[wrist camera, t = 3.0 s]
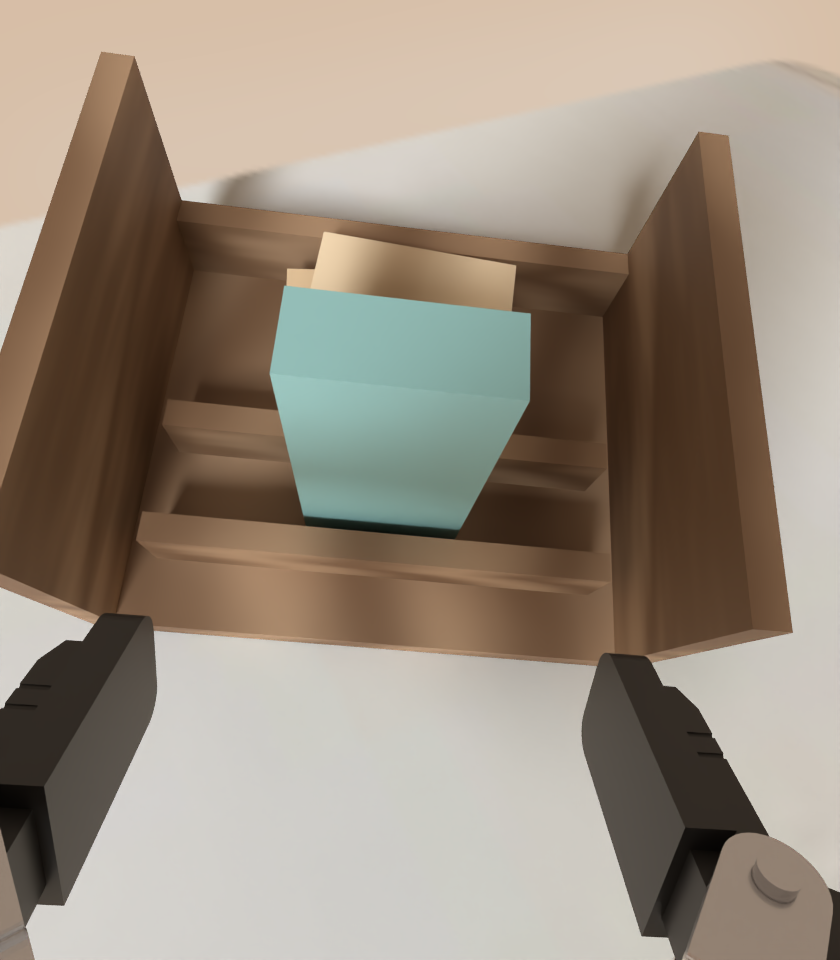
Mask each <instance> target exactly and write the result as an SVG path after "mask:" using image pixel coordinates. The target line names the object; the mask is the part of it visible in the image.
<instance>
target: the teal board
mask: <svg viewBox="0 0 840 960" xmlns="http://www.w3.org/2000/svg"><path fill="white" fill-rule="evenodd" d="M530 332H531V314H530V313H521V312H512V311H504V310H495V309H486V308H477V307H468V306H460V305H451V304H442V303H433V302H424V301H416V300H407V299H398V298H389V297H380V296H372V295H363V294H354V293H345V292H336V291H328V290H319V289H310V288H301V287H292V286H284V291H283V297H282V302H281V308H280V314H279V320H278V326H277V332H276V338H275V344H274V350H273V356H272V362H271V368H270V377H271V382H272V386H273V390H274V394H275V398H276V403H277V407H278V411H279V415H280V419H281V424H282V428H283V432H284V436H285V440H286V445H287V449H288V453H289V457H290V461H291V466H292V470H293V474H294V478H295V482H296V487H297V491H298V495H299V499H300V503H301V508H302V512H303V516H304V520H305V524H306V526H310V527H321V528H332V529H343V530H354V531H365V532H376V533H387V534H398V535H409V536H420V537H431V538H442V539H453V540H455V538H456V536H457V534H458V532H459V531H460V529H461V527H462V525H463V523H464V521H465V520H466V518H467V516H468V514H469V512H470V510H471V508H472V507H473V505H474V503H475V501H476V499H477V497H478V496H479V494H480V492H481V490H482V488H483V486H484V484H485V483H486V481H487V479H488V477H489V475H490V473H491V472H492V470H493V468H494V466H495V464H496V462H497V460H498V459H499V457H500V455H501V453H502V451H503V449H504V448H505V446H506V444H507V442H508V440H509V438H510V436H511V435H512V433H513V431H514V429H515V427H516V425H517V424H518V422H519V420H520V418H521V416H522V414H523V413H524V411H525V409H526V407H527V405H528V403H529V401H530Z"/></svg>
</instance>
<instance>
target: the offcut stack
mask: <svg viewBox="0 0 840 960" xmlns="http://www.w3.org/2000/svg"><path fill="white" fill-rule="evenodd" d="M515 274H516V265H511V264H505V263H499V262H494V261H488V260H482V259H477V258H471V257H465V256H460V255H454V254H449V253H443V252H437V251H432V250H426V249H420V248H415V247H409V246H403V245H398V244H392V243H386V242H381V241H375V240H369V239H364V238H358V237H352V236H347V235H341V234H335V233H330V232H324V233H323V238H322V242H321V246H320V250H319V254H318V259H317V263H316V267H315V269H287V286H292V287H301V288H310V289H319V290H328V291H336V292H345V293H354V294H363V295H372V296H380V297H389V298H398V299H407V300H416V301H424V302H433V303H442V304H451V305H460V306H468V307H477V308H486V309H495V310H504V311H512V302H513V293H514V283H515Z"/></svg>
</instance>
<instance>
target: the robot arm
mask: <svg viewBox="0 0 840 960" xmlns="http://www.w3.org/2000/svg"><path fill="white" fill-rule="evenodd" d="M156 694H157V676H156V661H155V645H154V630H153V622H152V619H151V617H149V616H142V615H129V614H116V613H104V614H102V615H101V616H100V617H99V618H98V620H97V621H96V623H95V624H94V626H93V627H92V628H91V630H90V631H89V633H88V634H87V636H86V637H85V639H84V640H83V641H71V640H66V641H64V642H63V643H61V644H60V645H59V646H57V647H56V648H54V649H53V650H51V651H50V652H48V653H47V654H45V655H44V656H43V657H41V658H40V659H38V660H37V662H36V663H35V664H34V666H33V667H32V668H31V670H30V671H29V672H28V674H27V675H26V676H25V678H24V679H23V680H22V681H21V683H20V687H19V688H16V689H15V691H14V692H13V693H12V695H11V696H10V697H9V699H8V700H7V701H6V703H5V707H4V708H1V709H0V960H35V959H34V956H33V952H32V948H31V944H30V940H29V936H28V932H27V929H26V928H25V927H26V925H27V923H28V921H29V919H30V917H31V915H32V913H33V911H34V909H35V907H36V905H37V904H40V905H61V906H64V905H65V903H66V900H67V898H68V896H69V894H70V892H71V890H72V888H73V885H74V883H75V881H76V879H77V877H78V875H79V873H80V870H81V868H82V866H83V864H84V862H85V860H86V858H87V855H88V853H89V851H90V849H91V847H92V845H93V843H94V840H95V838H96V836H97V834H98V832H99V830H100V828H101V825H102V823H103V821H104V819H105V817H106V815H107V813H108V810H109V808H110V806H111V804H112V802H113V800H114V798H115V795H116V793H117V791H118V789H119V787H120V785H121V782H122V780H123V778H124V776H125V774H126V772H127V770H128V767H129V765H130V763H131V761H132V759H133V757H134V755H135V752H136V750H137V748H138V746H139V744H140V742H141V740H142V737H143V735H144V733H145V731H146V729H147V727H148V725H149V722H150V720H151V717H152V714H153V710H154V706H155V701H156ZM582 744H583V750H584V754H585V757H586V761H587V764H588V767H589V770H590V773H591V776H592V780H593V783H594V786H595V789H596V792H597V796H598V799H599V802H600V805H601V808H602V812H603V815H604V818H605V821H606V824H607V827H608V831H609V834H610V837H611V840H612V843H613V847H614V850H615V853H616V856H617V859H618V862H619V866H620V869H621V872H622V875H623V878H624V882H625V885H626V888H627V891H628V894H629V897H630V901H631V904H632V907H633V910H634V913H635V917H636V920H637V923H638V926H639V929H640V932H641V936H646V937H667V938H669V941H670V944H671V947H672V950H673V953H674V955H675V957H674V959H673V960H840V892H837V891H835V890H832V889H830V888H828V887H827V885H826V884H825V882H824V880H823V878H822V877H821V876H820V874H819V873H818V872H817V870H816V869H815V868H814V867H813V866H812V865H811V864H810V863H809V862H808V861H807V860H806V859H805V858H804V857H803V856H802V855H800V854H799V853H798V852H796V851H795V850H794V849H792V848H791V847H789V846H788V845H786V844H784V843H782V842H780V841H778V840H776V839H774V838H771V837H769V835H768V833H767V832H766V830H765V828H764V826H763V824H762V823H761V821H760V819H759V817H758V815H757V814H756V812H755V810H754V808H753V806H752V805H751V803H750V801H749V799H748V797H747V796H746V794H745V792H744V790H743V788H742V787H741V785H740V783H739V781H738V779H737V778H736V776H735V774H734V772H733V770H732V769H731V767H730V765H729V763H728V761H727V760H726V759H724V758H723V752H722V751H721V749H720V747H719V745H718V743H717V742H716V740H715V738H712V733H711V731H710V729H709V727H708V725H707V724H706V722H705V720H704V718H703V716H702V715H701V713H700V711H699V709H698V708H697V707H696V706H695V705H694V704H693V703H692V702H691V701H690V700H689V699H687V698H686V697H685V696H684V695H683V694H682V693H681V692H680V691H679V690H678V689H677V688H676V687H669V686H663V685H662V683H661V681H660V679H659V677H658V675H657V673H656V671H655V669H654V667H653V665H652V663H651V661H650V660H649V659H648V657H646V656H641V655H628V654H615V653H604V654H602V656H601V657H600V659H599V662H598V665H597V669H596V672H595V676H594V679H593V683H592V687H591V690H590V694H589V697H588V701H587V704H586V708H585V711H584V715H583V720H582Z"/></svg>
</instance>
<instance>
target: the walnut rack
mask: <svg viewBox="0 0 840 960" xmlns="http://www.w3.org/2000/svg"><path fill="white" fill-rule="evenodd" d="M324 232H330V233H335V234H341V235H347V236H352V237H358V238H364V239H369V240H375V241H381V242H386V243H392V244H398V245H403V246H409V247H415V248H420V249H426V250H432V251H437V252H443V253H449V254H454V255H460V256H465V257H471V258H477V259H482V260H488V261H494V262H499V263H505V264H511V265H516V274H515V283H514V293H513V302H512V312H521V313H530V314H531V332H530V401H529V403H528V405H527V407H526V409H525V411H524V413H523V414H522V416H521V418H520V420H519V422H518V424H517V425H516V427H515V429H514V431H513V433H512V435H511V436H510V438H509V440H508V442H507V444H506V446H505V448H504V449H503V451H502V453H501V455H500V457H499V459H498V460H497V462H496V464H495V466H494V468H493V470H492V472H491V473H490V475H489V477H488V479H487V481H486V483H485V484H484V486H483V488H482V490H481V492H480V494H479V496H478V497H477V499H476V501H475V503H474V505H473V507H472V508H471V510H470V512H469V514H468V516H467V518H466V520H465V521H464V523H463V525H462V527H461V529H460V531H459V532H458V534H457V536H456V538H455V540H453V539H442V538H431V537H420V536H409V535H398V534H387V533H376V532H365V531H354V530H343V529H332V528H321V527H310V526H306V524H305V520H304V516H303V512H302V508H301V503H300V499H299V495H298V491H297V487H296V482H295V478H294V474H293V470H292V466H291V461H290V457H289V453H288V449H287V445H286V440H285V436H284V432H283V428H282V424H281V419H280V415H279V411H278V407H277V403H276V398H275V394H274V390H273V386H272V382H271V377H270V368H271V362H272V356H273V350H274V344H275V338H276V332H277V326H278V320H279V314H280V308H281V302H282V297H283V291H284V286H287V269H315V267H316V263H317V259H318V254H319V250H320V246H321V242H322V238H323V233H324ZM0 587H1V588H4V589H6V590H9V591H11V592H14V593H16V594H19V595H21V596H24V597H26V598H29V599H32V600H34V601H37V602H39V603H42V604H44V605H47V606H49V607H52V608H54V609H57V610H59V611H62V612H65V613H67V614H70V615H72V616H75V617H77V618H80V619H82V620H85V621H87V622H90V623H93V624H95V623H96V621H97V620H98V618H99V617H100V616H101V615H102V614H104V613H116V614H129V615H142V616H149V617H151V619H152V622H153V630H154V631H165V632H178V633H190V634H203V635H215V636H228V637H241V638H253V639H266V640H278V641H291V642H304V643H316V644H329V645H341V646H354V647H366V648H379V649H392V650H404V651H417V652H429V653H442V654H455V655H467V656H480V657H492V658H505V659H517V660H530V661H543V662H555V663H568V664H580V665H593V666H597V665H598V662H599V659H600V657H601V656H602V654H604V653H615V654H628V655H641V656H646V657H648V659H649V660H650V661H651V663H652V662H657V661H662V660H666V659H671V658H676V657H681V656H685V655H690V654H695V653H699V652H704V651H709V650H713V649H718V648H723V647H727V646H732V645H737V644H742V643H746V642H751V641H756V640H760V639H765V638H770V637H774V636H779V635H784V634H788V633H793V631H792V623H791V616H790V608H789V600H788V593H787V585H786V577H785V569H784V562H783V554H782V546H781V539H780V531H779V523H778V515H777V508H776V500H775V492H774V485H773V477H772V469H771V461H770V454H769V446H768V438H767V431H766V423H765V415H764V407H763V400H762V392H761V384H760V377H759V369H758V361H757V353H756V346H755V338H754V330H753V323H752V315H751V307H750V299H749V292H748V284H747V276H746V269H745V261H744V253H743V245H742V238H741V230H740V222H739V215H738V207H737V199H736V191H735V184H734V176H733V168H732V161H731V153H730V145H729V137H728V136H726V135H719V134H711V133H704V132H698V134H697V136H696V137H695V139H694V141H693V142H692V144H691V146H690V148H689V149H688V151H687V153H686V155H685V156H684V158H683V160H682V161H681V163H680V165H679V167H678V168H677V170H676V172H675V173H674V175H673V177H672V179H671V180H670V182H669V184H668V186H667V187H666V189H665V191H664V192H663V194H662V196H661V198H660V199H659V201H658V203H657V204H656V206H655V208H654V210H653V211H652V213H651V215H650V217H649V218H648V220H647V222H646V223H645V225H644V227H643V229H642V230H641V232H640V234H639V235H638V237H637V239H636V241H635V242H634V244H633V246H632V247H631V249H630V251H629V253H628V254H622V253H614V252H605V251H597V250H589V249H581V248H572V247H564V246H556V245H547V244H539V243H531V242H523V241H514V240H506V239H498V238H489V237H481V236H473V235H465V234H456V233H448V232H440V231H431V230H423V229H415V228H407V227H398V226H390V225H382V224H373V223H365V222H357V221H349V220H340V219H332V218H324V217H315V216H307V215H299V214H291V213H282V212H274V211H266V210H257V209H249V208H241V207H232V206H224V205H216V204H208V203H199V202H191V201H183V200H181V197H180V194H179V191H178V188H177V185H176V182H175V179H174V176H173V173H172V170H171V167H170V163H169V160H168V157H167V154H166V151H165V148H164V145H163V142H162V139H161V136H160V133H159V130H158V127H157V124H156V121H155V118H154V115H153V112H152V108H151V106H150V102H149V100H148V96H147V93H146V90H145V87H144V84H143V81H142V78H141V75H140V72H139V69H138V66H137V63H136V60H135V57H134V56H128V55H121V54H113V53H106V52H101V54H100V57H99V60H98V63H97V66H96V69H95V72H94V75H93V78H92V81H91V84H90V87H89V90H88V93H87V96H86V99H85V102H84V105H83V108H82V111H81V114H80V117H79V120H78V123H77V126H76V129H75V132H74V135H73V138H72V140H71V143H70V147H69V149H68V153H67V155H66V159H65V161H64V164H63V167H62V171H61V173H60V177H59V179H58V182H57V185H56V188H55V191H54V194H53V197H52V200H51V203H50V206H49V209H48V212H47V215H46V218H45V221H44V224H43V227H42V230H41V233H40V236H39V239H38V242H37V245H36V248H35V251H34V254H33V257H32V260H31V263H30V266H29V269H28V272H27V275H26V277H25V280H24V283H23V286H22V289H21V292H20V295H19V298H18V301H17V304H16V307H15V310H14V313H13V316H12V319H11V322H10V325H9V328H8V331H7V334H6V337H5V340H4V343H3V346H2V349H1V352H0Z"/></svg>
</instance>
